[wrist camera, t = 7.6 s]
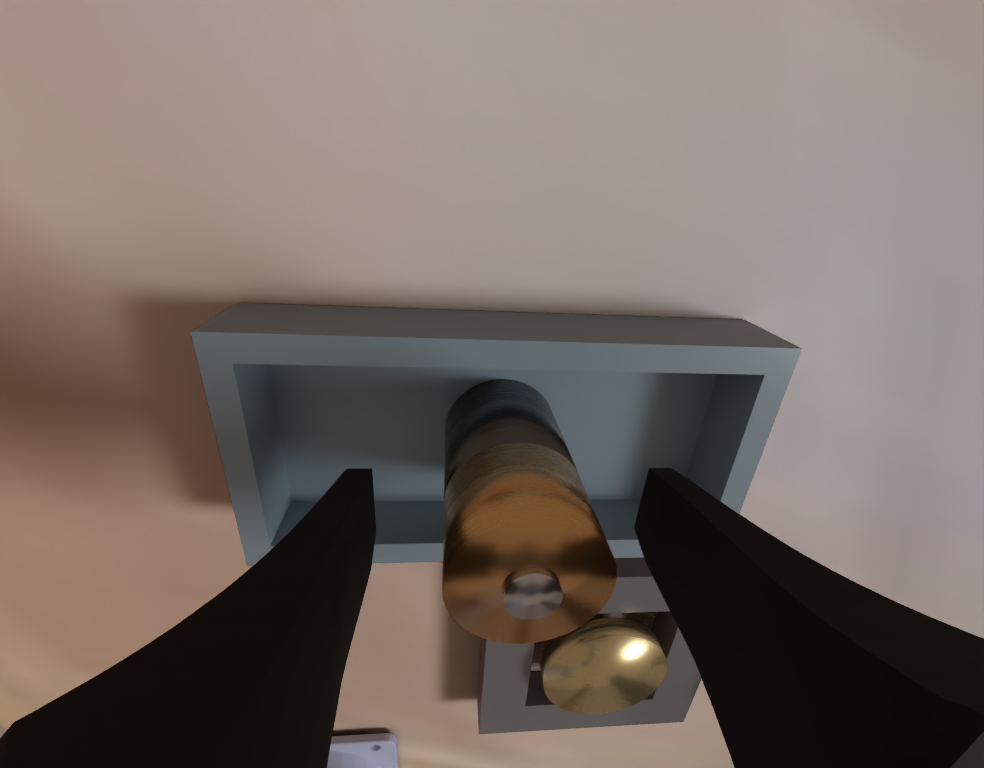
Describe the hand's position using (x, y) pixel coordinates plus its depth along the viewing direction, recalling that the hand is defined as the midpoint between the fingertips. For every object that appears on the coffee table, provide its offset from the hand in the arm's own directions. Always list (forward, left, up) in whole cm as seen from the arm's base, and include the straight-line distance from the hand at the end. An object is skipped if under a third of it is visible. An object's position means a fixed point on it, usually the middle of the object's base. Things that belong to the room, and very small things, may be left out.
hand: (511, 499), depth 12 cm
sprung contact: (+5, -11, -3) cm, 12 cm away
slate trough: (0, 0, -4) cm, 4 cm away
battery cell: (0, 0, -4) cm, 4 cm away
